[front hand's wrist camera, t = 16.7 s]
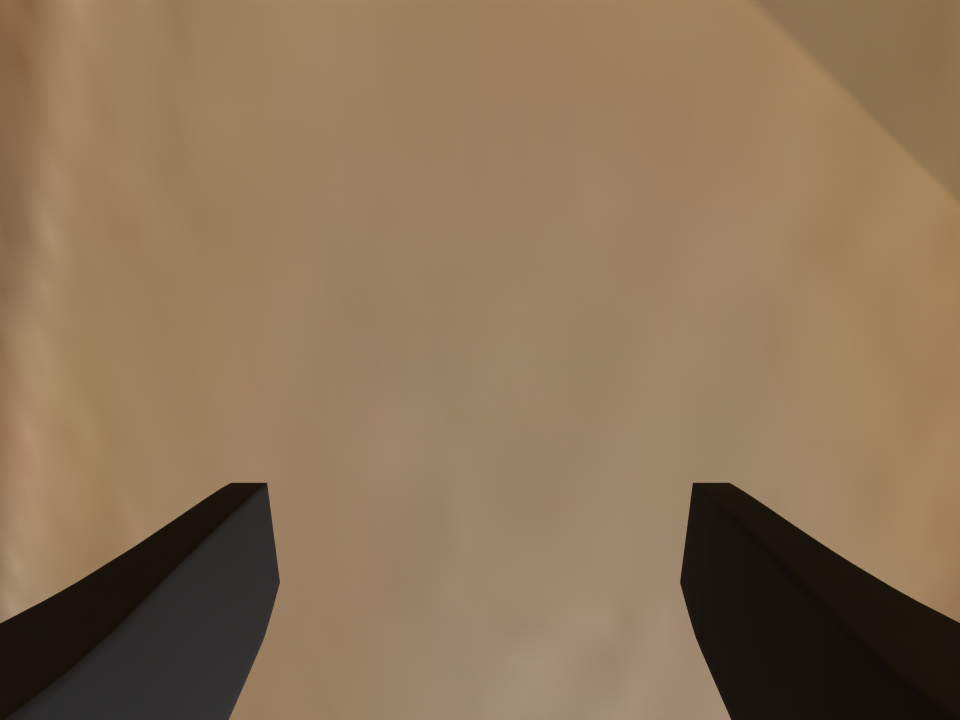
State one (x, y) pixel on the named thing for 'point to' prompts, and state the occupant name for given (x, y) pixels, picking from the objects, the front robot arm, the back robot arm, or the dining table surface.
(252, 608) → the front robot arm
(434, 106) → the dining table surface
